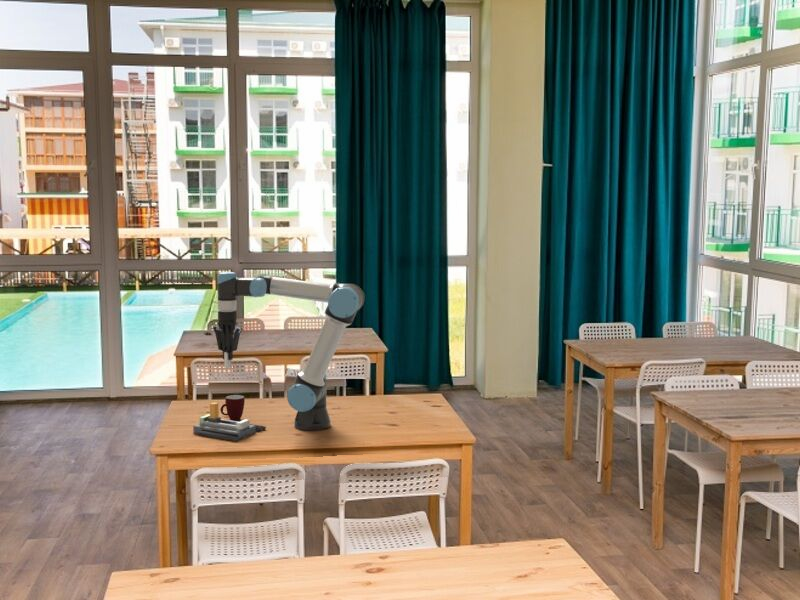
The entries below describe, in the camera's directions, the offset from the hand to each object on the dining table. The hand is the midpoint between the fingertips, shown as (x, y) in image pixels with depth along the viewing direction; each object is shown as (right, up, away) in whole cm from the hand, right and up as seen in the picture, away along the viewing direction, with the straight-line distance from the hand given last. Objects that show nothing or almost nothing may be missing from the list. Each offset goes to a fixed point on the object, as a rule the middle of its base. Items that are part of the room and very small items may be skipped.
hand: (227, 367), depth 358 cm
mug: (-2, -24, +19) cm, 31 cm away
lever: (-6, -23, +1) cm, 24 cm away
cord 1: (-2, -28, -8) cm, 29 cm away
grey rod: (+3, -26, +7) cm, 27 cm away
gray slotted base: (-1, -27, -1) cm, 27 cm away
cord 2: (+3, -25, +9) cm, 27 cm away
